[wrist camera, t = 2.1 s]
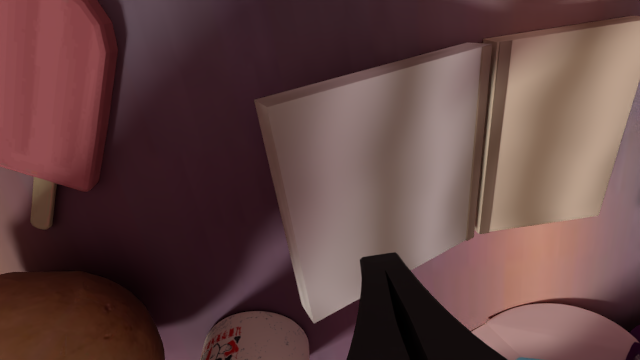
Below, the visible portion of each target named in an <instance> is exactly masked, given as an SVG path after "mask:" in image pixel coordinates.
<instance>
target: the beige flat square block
mask: <svg viewBox="0 0 640 360" xmlns="http://www.w3.org/2000/svg"><path fill="white" fill-rule="evenodd" d="M491 52H492V44H484V43H469V42H467V43H463V44H459V45H456V46H452V47H448V48H445V49H441V50H437V51H433V52H430V53H426V54H422V55H419V56H415V57H411V58H408V59H404V60H400V61H396V62H393V63H389V64H385V65H382V66H378V67H374V68H370V69H367V70H363V71H359V72H356V73H352V74H348V75H344V76H341V77H337V78H333V79H330V80H326V81H322V82H318V83H315V84H311V85H307V86H304V87H300V88H296V89H292V90H289V91H285V92H281V93H278V94H274V95H270V96H266V97H263V98H259V99H255V100H254V102H255V106H256V111H257V115H258V119H259V123H260V128H261V132H262V136H263V141H264V145H265V149H266V154H267V158H268V162H269V166H270V171H271V175H272V179H273V184H274V188H275V192H276V196H277V201H278V205H279V209H280V214H281V218H282V222H283V226H284V231H285V235H286V239H287V244H288V248H289V252H290V256H291V261H292V265H293V269H294V274H295V278H296V282H297V286H298V291H299V295H300V299H301V304H302V306H303V308H304V309H305V311H306V312H307V314H308V315H309V317H310V319H311V320H312V322H313V323H316V322H318V321H320V320H322V319H323V318H325V317H327V316H329V315H331V314H333V313H334V312H336V311H338V310H340V309H342V308H343V307H345V306H347V305H349V304H351V303H352V302H354V301H356V300H358V299H360V294H361V281H362V277H361V267H360V259H361V258H362V257H366V256H373V255H379V254H386V253H393V252H396V253H397V254H398V255H399V256H400V258H401V259H402V260H403V262H404V263H405V264H406V266H407V267H408V268H409V270H410V271H411V270H412V269H414V268H416V267H418V266H420V265H421V264H423V263H425V262H427V261H429V260H430V259H432V258H434V257H436V256H438V255H440V254H441V253H443V252H445V251H447V250H449V249H450V248H452V247H454V246H456V245H458V244H460V243H461V242H463V241H465V240H467V241H468V240H469V239H471V238H473V237H474V229H475V218H476V208H477V198H478V187H479V177H480V166H481V156H482V146H483V135H484V125H485V114H486V104H487V94H488V83H489V73H490V62H491Z"/></svg>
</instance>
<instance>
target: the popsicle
mask: <svg viewBox="0 0 640 360" xmlns="http://www.w3.org/2000/svg"><path fill="white" fill-rule="evenodd" d="M117 55H118V47H117V42H116V38H115V33H114V28H113V24H112V22H111V20H110V19H109V17H108V16H107V14H106V13H105V11H104V10H103V8H102V7H101V5H100V4H99V2H98V1H97V0H0V167H4V168H7V169H10V170H14V171H17V172H20V173H23V174H27V175H30V176H33V177H34V183H33V195H32V208H31V220H30V222H31V224H32V225H33V226H34V227H36V228H38V229H43V230H47V229H48V228H50V227H51V226H52V222H53V214H54V205H55V196H56V187H57V184H60V185H63V186H66V187H70V188H73V189H76V190H80V191H83V192H87V191H90V190H91V189H92V188H93V187H94V186H95V185H96V184H97V183H98V182H99V177H100V171H101V165H102V159H103V153H104V147H105V141H106V135H107V129H108V122H109V114H110V107H111V99H112V92H113V84H114V77H115V70H116V62H117Z"/></svg>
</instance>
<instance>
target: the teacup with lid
mask: <svg viewBox="0 0 640 360" xmlns="http://www.w3.org/2000/svg"><path fill="white" fill-rule="evenodd" d="M200 360H310V359H309V342H308V338H307V336H306V334H305V332H304V331H303V329H302V328H301V327H300V326H299V325H298V324H296V323H295V322H294V321H292V320H291V319H289V318H287V317H285V316H283V315H280V314H276V313H272V312H266V311H248V312H242V313H237V314H234V315H231V316H229V317H227V318H225V319H223V320H221V321H220V322H218V323H217V324H216V325H215V326H214V327H213V328H212V329H211V330H210V332H209V333H208V335H207V337H206V339H205V343H204V347H203V351H202V354H201V358H200Z"/></svg>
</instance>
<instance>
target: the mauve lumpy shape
mask: <svg viewBox="0 0 640 360" xmlns="http://www.w3.org/2000/svg"><path fill="white" fill-rule="evenodd" d="M472 333H473V334H474V335H476V336H477V337H478V338H479V339H481V340H482V341H483V342H484V343H486V344H487V345H488V346H490V347H491V348H492V349H494V350H495V351H497V352H498V353H499V354H501V355H502V356H504V357H505V358H506V359H508V360H640V325H637V326H636V327H635V328H634V329H633V330H632V331H631V332H627V331H626V330H625V329H623V328H622V327H621V326H619V325H618V324H616V323H615V322H613V321H611V320H609V319H607V318H605V317H603V316H601V315H599V314H597V313H594V312H592V311H589V310H586V309H582V308H579V307H575V306H570V305H564V304H553V303H540V304H529V305H524V306H519V307H516V308H513V309H510V310H507V311H505V312H502V313H500V314H498V315H496V316H494V317H493V318H491V319H490V320H488V321H487V322H486V324H484V325H482V326H480V327H478V328H477V329H475V330H473V331H472Z"/></svg>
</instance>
